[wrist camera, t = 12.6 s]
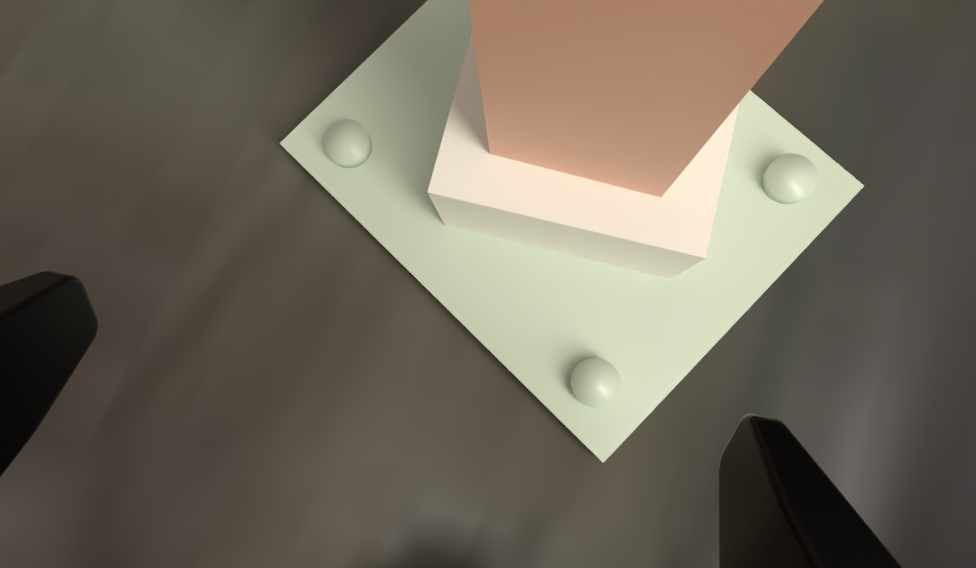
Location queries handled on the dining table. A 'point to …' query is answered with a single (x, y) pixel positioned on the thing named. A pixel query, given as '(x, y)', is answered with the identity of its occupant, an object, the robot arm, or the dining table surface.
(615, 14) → the column brick
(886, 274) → the dining table surface
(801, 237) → the tower base
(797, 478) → the robot arm
